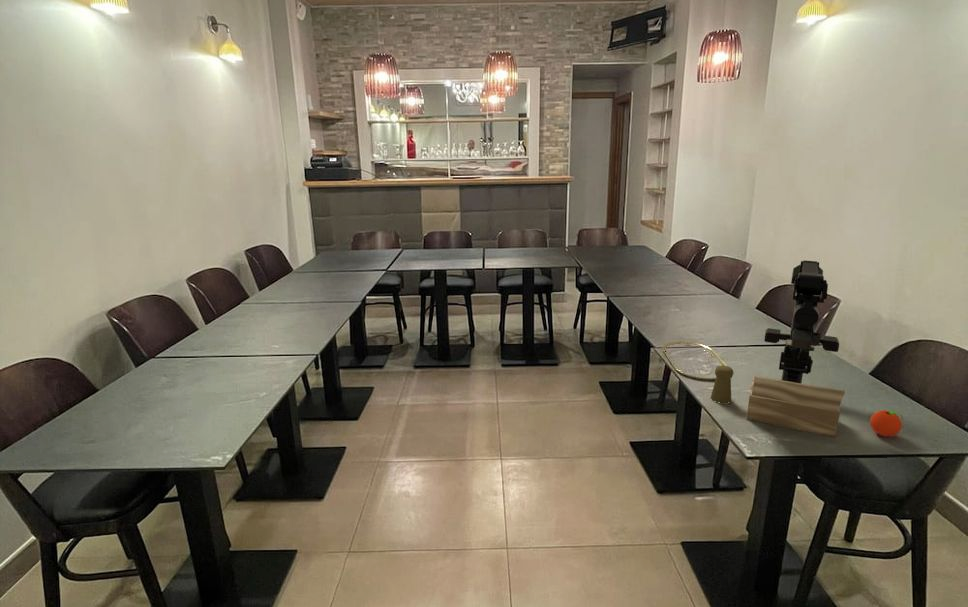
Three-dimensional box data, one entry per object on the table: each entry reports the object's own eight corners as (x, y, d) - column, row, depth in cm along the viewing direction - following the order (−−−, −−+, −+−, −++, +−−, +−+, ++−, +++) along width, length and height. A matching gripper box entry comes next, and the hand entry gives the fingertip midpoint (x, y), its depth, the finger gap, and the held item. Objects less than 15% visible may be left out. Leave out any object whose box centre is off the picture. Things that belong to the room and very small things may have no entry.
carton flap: (754, 375, 146) (754, 377, 145) (844, 391, 136) (844, 392, 136) (752, 393, 154) (752, 395, 154) (837, 409, 144) (837, 411, 144)
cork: (713, 393, 172) (717, 361, 169) (733, 398, 169) (737, 366, 166) (707, 400, 168) (711, 367, 165) (728, 405, 164) (732, 372, 161)
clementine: (889, 427, 150) (894, 404, 148) (909, 440, 144) (915, 417, 142) (861, 428, 150) (866, 405, 148) (880, 441, 143) (885, 417, 141)
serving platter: (704, 345, 214) (705, 341, 214) (737, 382, 181) (738, 378, 180) (657, 345, 216) (657, 341, 215) (681, 381, 182) (681, 377, 182)
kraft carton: (749, 402, 166) (752, 379, 164) (832, 418, 156) (837, 394, 154) (746, 418, 156) (749, 395, 154) (835, 437, 146) (840, 412, 144)
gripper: (767, 320, 153) (759, 370, 158) (844, 329, 144) (834, 382, 149) (768, 309, 162) (762, 357, 167) (841, 318, 154) (832, 368, 158)
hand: (796, 366), depth 160 cm, fingers closed
